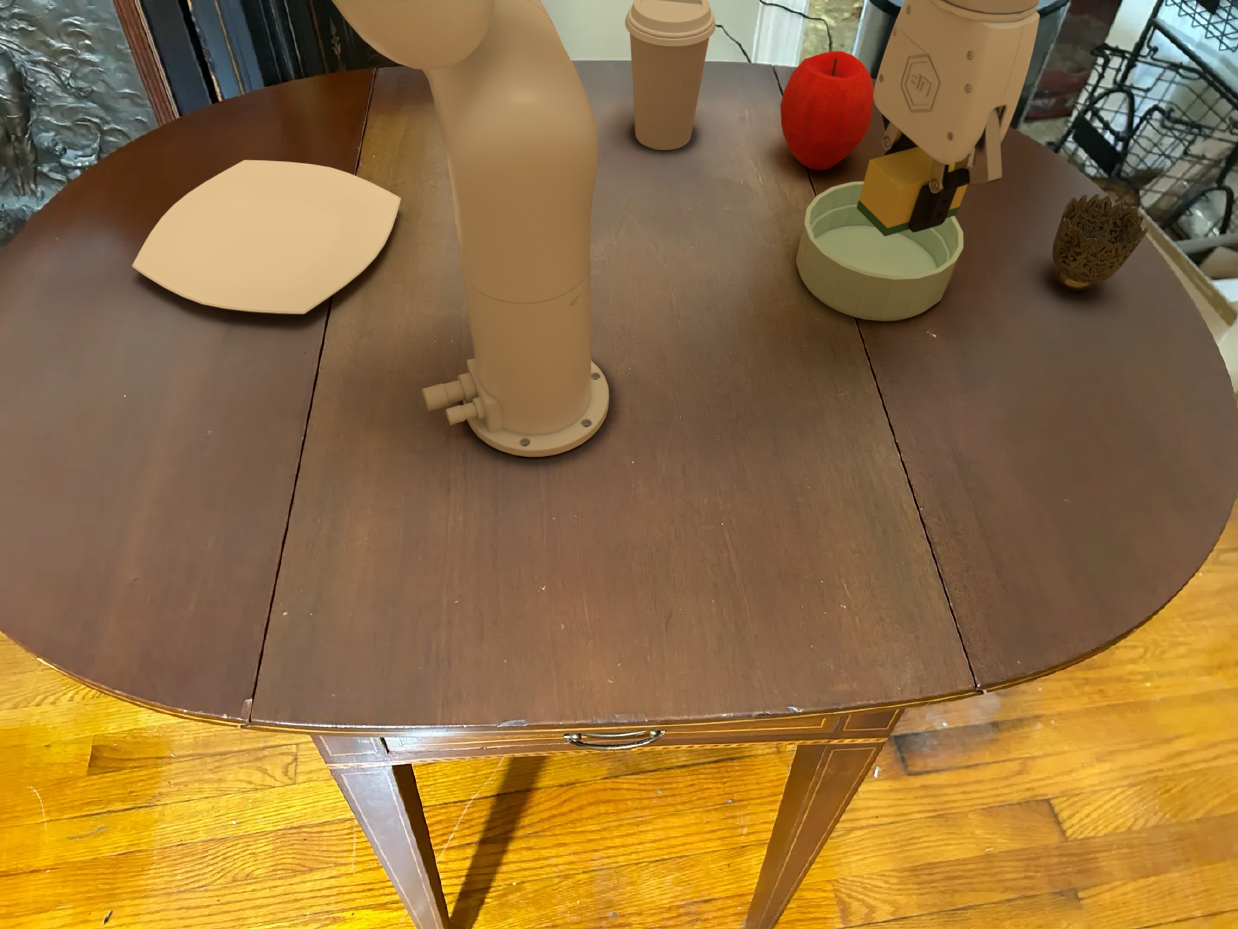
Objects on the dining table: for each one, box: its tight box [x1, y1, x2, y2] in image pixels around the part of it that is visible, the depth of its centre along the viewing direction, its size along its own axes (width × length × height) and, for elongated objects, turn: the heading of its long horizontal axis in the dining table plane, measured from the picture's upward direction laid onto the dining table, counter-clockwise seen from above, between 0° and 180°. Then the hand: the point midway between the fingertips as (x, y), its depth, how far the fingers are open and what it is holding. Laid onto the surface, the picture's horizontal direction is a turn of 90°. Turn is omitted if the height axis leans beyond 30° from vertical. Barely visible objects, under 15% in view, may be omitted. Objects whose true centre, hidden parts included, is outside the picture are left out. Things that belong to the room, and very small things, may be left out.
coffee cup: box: [624, 0, 717, 151], centre depth 100 cm, size 10×10×15 cm
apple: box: [779, 50, 874, 171], centre depth 98 cm, size 10×10×12 cm
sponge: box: [857, 147, 968, 236], centre depth 72 cm, size 7×4×4 cm, turn 115°
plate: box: [131, 159, 402, 316], centre depth 91 cm, size 23×23×2 cm
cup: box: [1051, 193, 1149, 293], centre depth 88 cm, size 8×7×8 cm
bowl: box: [795, 180, 964, 322], centre depth 89 cm, size 15×15×6 cm
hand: (908, 207), depth 73 cm, fingers closed on sponge, 4 cm apart
